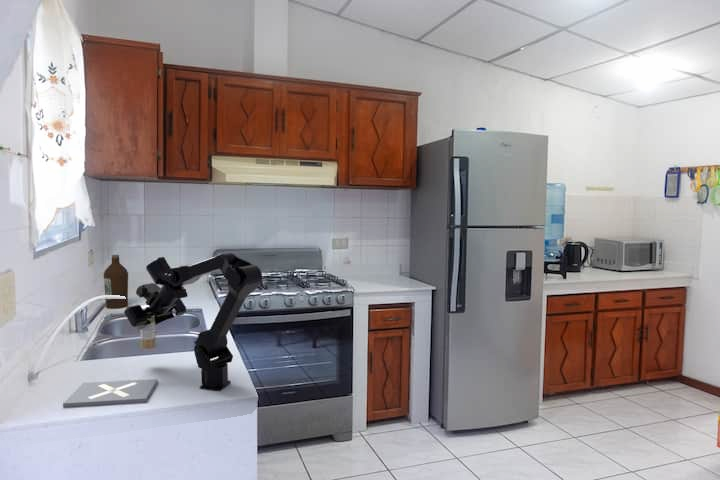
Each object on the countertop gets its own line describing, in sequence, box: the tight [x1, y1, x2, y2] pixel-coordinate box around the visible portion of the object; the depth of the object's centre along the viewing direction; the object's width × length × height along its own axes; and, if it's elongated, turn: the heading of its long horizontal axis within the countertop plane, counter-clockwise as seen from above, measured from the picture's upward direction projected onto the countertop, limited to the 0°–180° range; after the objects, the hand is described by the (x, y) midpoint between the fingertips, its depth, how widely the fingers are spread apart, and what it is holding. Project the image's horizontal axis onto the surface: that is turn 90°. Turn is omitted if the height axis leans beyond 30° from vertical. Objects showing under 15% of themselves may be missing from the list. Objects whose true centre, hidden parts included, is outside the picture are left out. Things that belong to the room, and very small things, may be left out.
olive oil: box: [103, 254, 129, 310], centre depth 236 cm, size 11×11×25 cm
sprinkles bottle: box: [140, 304, 157, 351], centre depth 154 cm, size 5×5×14 cm
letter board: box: [62, 378, 159, 408], centre depth 134 cm, size 20×14×1 cm
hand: (145, 326), depth 155 cm, fingers closed on sprinkles bottle, 4 cm apart
